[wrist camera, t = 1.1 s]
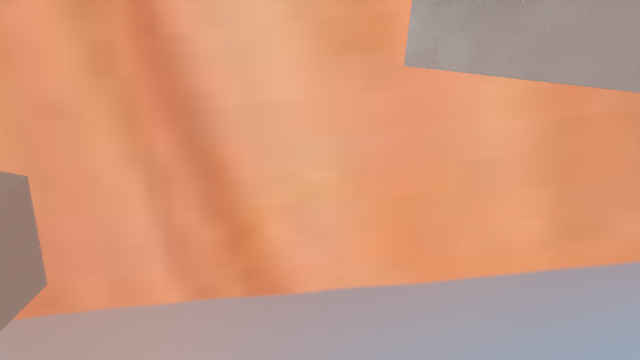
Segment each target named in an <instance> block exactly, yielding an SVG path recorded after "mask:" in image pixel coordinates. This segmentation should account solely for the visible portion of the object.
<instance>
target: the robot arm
mask: <svg viewBox="0 0 640 360" xmlns="http://www.w3.org/2000/svg"><path fill="white" fill-rule="evenodd" d="M46 286H47V280H46V275H45V269H44V264H43V259H42V253H41V248H40V242H39V237H38V231H37V226H36V220H35V215H34V209H33V204H32V199H31V193H30V188H29V182H28V177H27V176H23V175H17V174H12V173H6V172H1V171H0V331H1V330H2V329H3V328H4V327H5V326H6V325H7V324H8V323H9V322H10V321H11V320H12V319H13V318H14V317H15V316H16V315H17V314H18V313H19V312H20V311H21V310H22V309H23V308H24V307H25V306H26V305H27V304H28V303H29V302H30V301H31V300H32V299H33V298H34V297H35V296H36V295H37V294H38V293H39V292H41V291H42V290H43V289H44V288H45V287H46Z"/></svg>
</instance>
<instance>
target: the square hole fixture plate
mask: <svg viewBox="0 0 640 360" xmlns="http://www.w3.org/2000/svg"><path fill="white" fill-rule="evenodd" d="M404 66H410V67H419V68H427V69H436V70H445V71H454V72H463V73H471V74H480V75H489V76H498V77H507V78H515V79H524V80H533V81H542V82H551V83H559V84H568V85H577V86H586V87H595V88H603V89H612V90H621V91H630V92H639V93H640V0H412V7H411V15H410V23H409V31H408V39H407V47H406V55H405V63H404Z"/></svg>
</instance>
